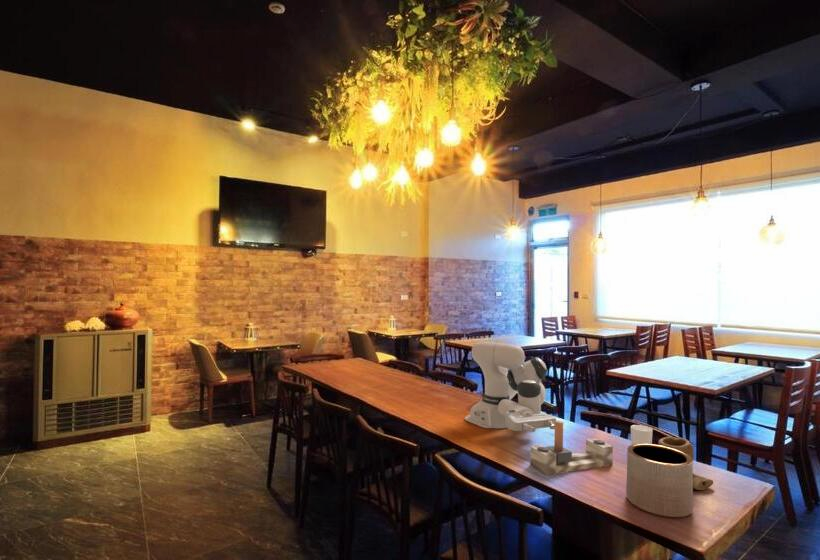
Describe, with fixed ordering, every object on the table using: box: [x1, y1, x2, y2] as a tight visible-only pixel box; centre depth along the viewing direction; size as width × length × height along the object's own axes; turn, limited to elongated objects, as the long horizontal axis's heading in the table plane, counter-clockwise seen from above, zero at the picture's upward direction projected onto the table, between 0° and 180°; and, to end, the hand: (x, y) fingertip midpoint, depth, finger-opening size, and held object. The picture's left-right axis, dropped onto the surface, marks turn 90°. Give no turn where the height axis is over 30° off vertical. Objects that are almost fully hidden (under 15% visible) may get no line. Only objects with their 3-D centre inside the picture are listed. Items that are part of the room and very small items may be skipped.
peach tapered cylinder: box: [545, 420, 573, 464], centre depth 160 cm, size 6×7×14 cm
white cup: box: [630, 424, 654, 445], centre depth 176 cm, size 8×8×10 cm
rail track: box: [529, 438, 614, 476], centre depth 162 cm, size 30×9×7 cm, turn 110°
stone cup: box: [657, 436, 714, 491], centre depth 149 cm, size 15×12×15 cm
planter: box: [625, 443, 694, 519], centre depth 134 cm, size 18×18×16 cm
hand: (543, 428), depth 170 cm, fingers open, 8 cm apart
